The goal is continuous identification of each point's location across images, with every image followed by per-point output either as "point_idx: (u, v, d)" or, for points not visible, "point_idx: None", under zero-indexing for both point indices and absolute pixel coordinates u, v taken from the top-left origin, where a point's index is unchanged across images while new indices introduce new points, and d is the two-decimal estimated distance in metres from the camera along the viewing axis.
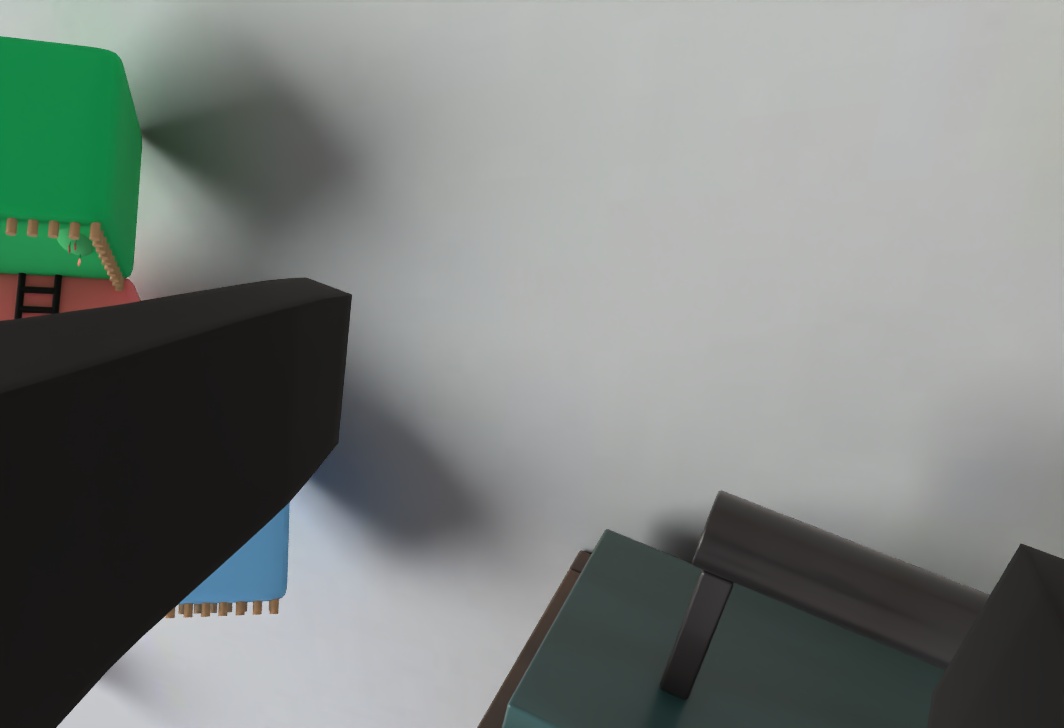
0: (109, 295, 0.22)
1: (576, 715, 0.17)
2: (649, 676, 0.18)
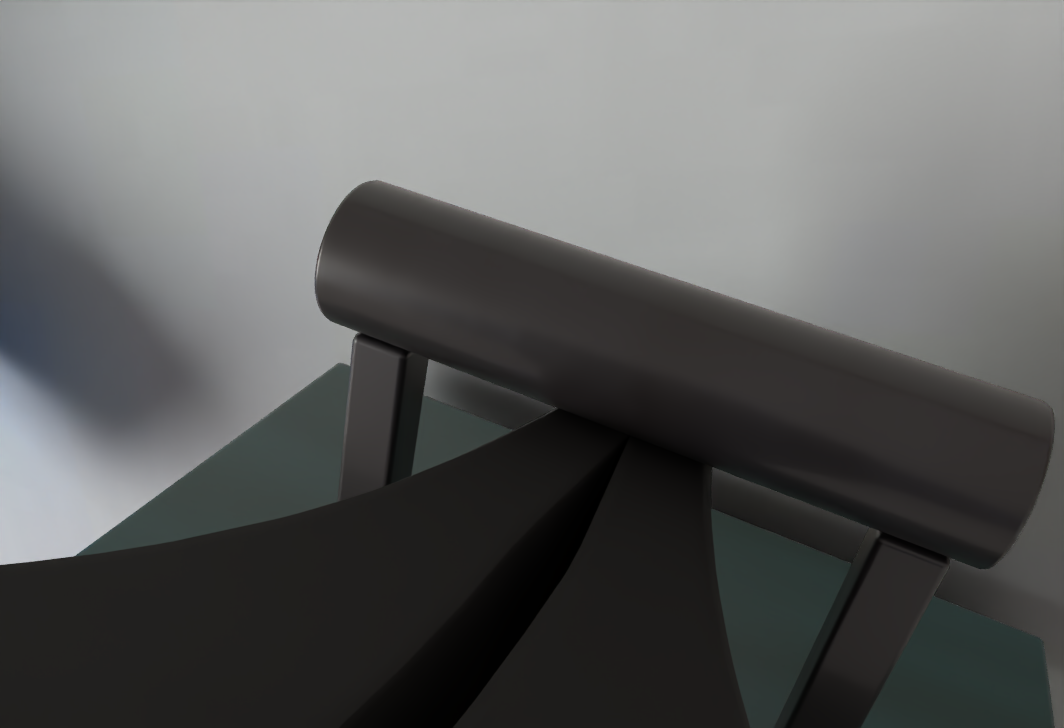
0: None
1: None
2: None
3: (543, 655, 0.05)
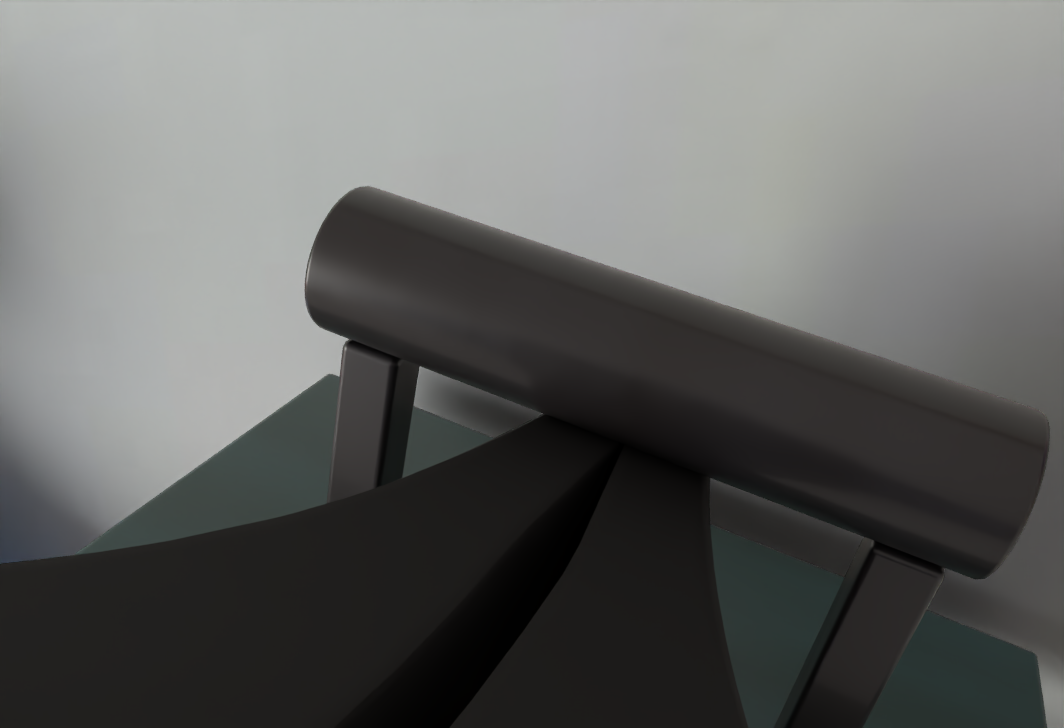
0: None
1: None
2: None
3: (542, 654, 0.05)
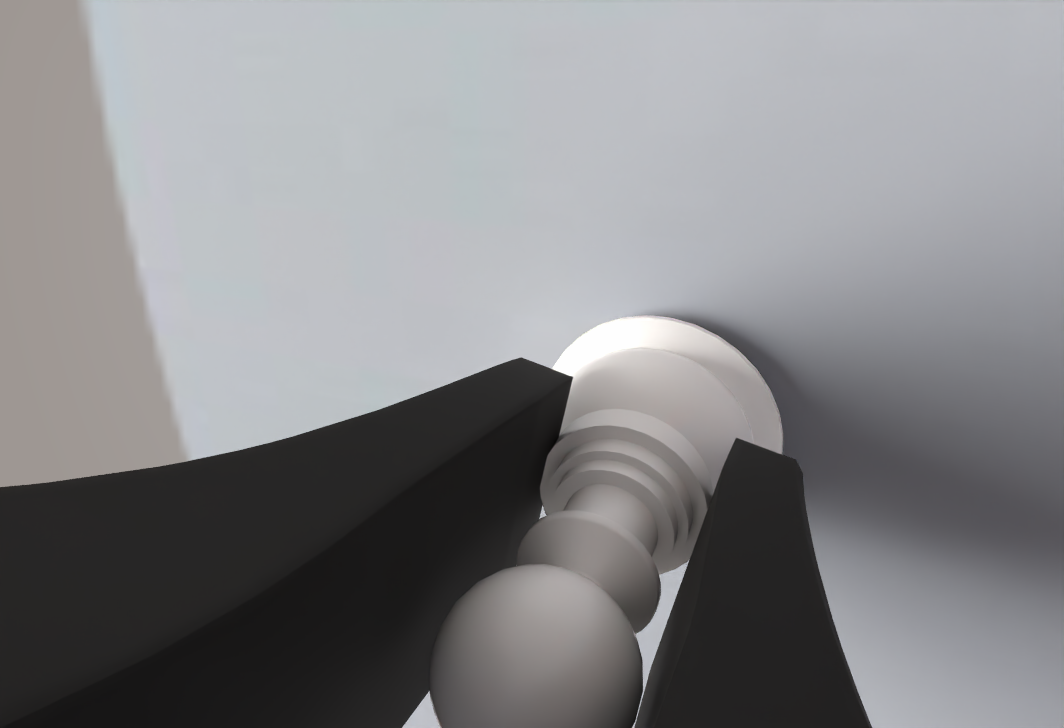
0: None
1: None
2: None
3: (689, 721, 0.05)
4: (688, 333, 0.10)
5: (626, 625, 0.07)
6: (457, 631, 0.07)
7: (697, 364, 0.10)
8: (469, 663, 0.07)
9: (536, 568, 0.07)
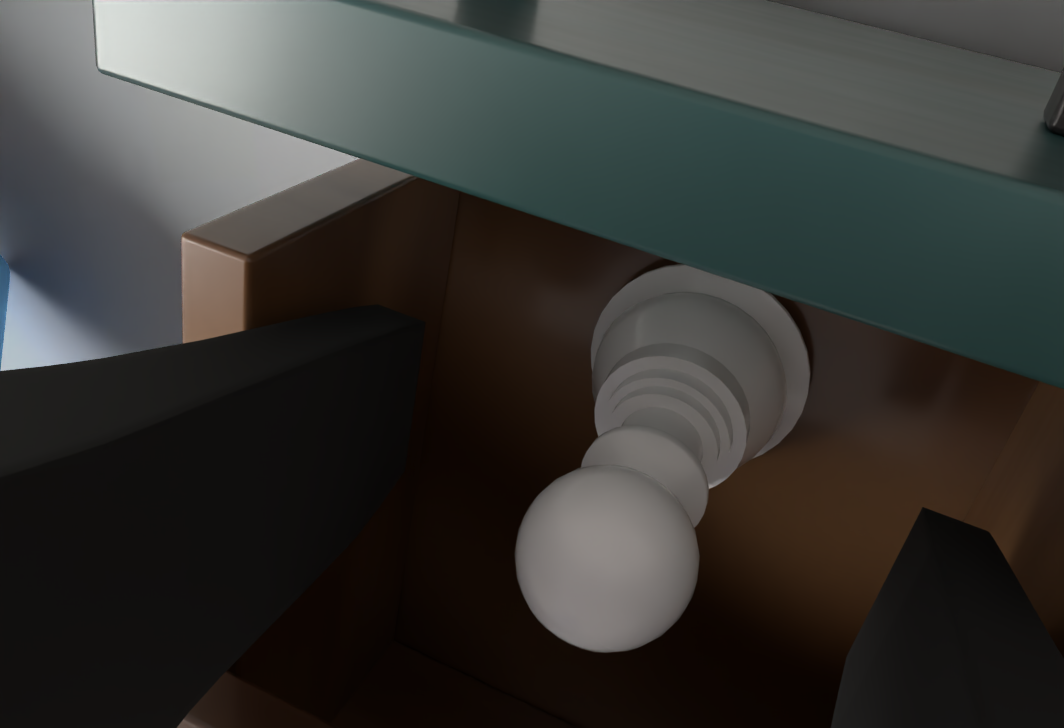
0: None
1: None
2: None
3: None
4: (727, 279, 0.11)
5: (686, 514, 0.08)
6: (543, 515, 0.08)
7: (735, 306, 0.11)
8: (556, 539, 0.08)
9: (608, 466, 0.08)
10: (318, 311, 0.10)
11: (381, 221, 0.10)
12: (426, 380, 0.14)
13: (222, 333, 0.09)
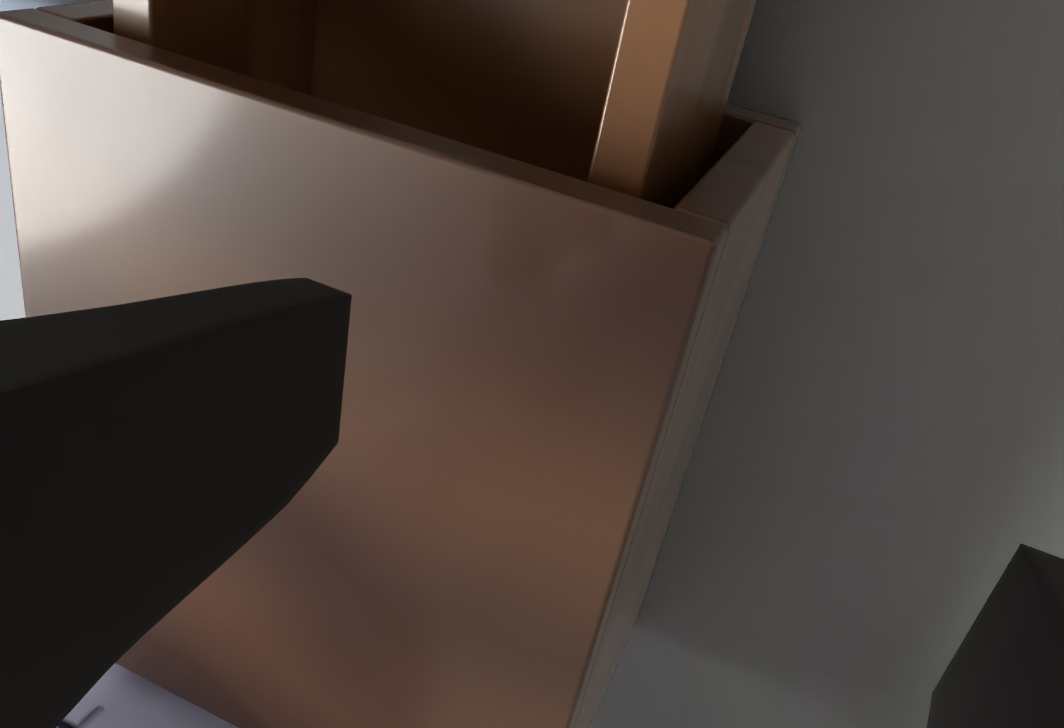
0: None
1: None
2: None
3: None
4: None
5: None
6: None
7: None
8: None
9: None
10: None
11: None
12: None
13: None
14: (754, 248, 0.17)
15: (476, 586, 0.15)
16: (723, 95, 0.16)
